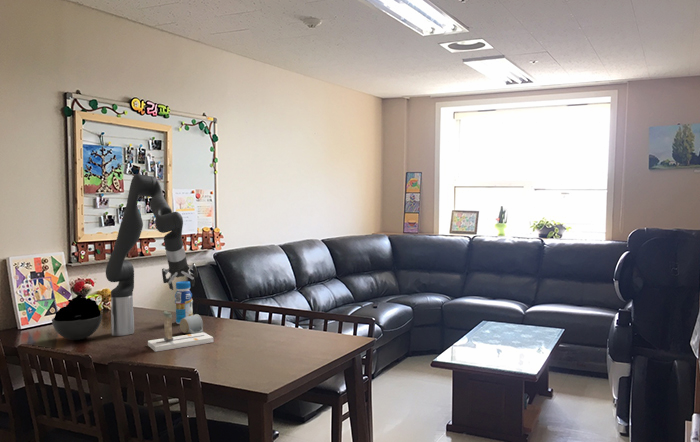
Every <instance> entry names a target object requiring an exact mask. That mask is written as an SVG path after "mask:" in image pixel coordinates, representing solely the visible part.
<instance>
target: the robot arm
mask: <svg viewBox="0 0 700 442" xmlns="http://www.w3.org/2000/svg"><path fill="white" fill-rule="evenodd" d="M139 197H146V198H151V199H150V202H149V208H150V210H151V212H152V215H153V216H154V219H155V220H154V221H155V222H154V223H155V228H156V230H157V231H158V232H159V233H162V234H165V233H166V234H165V235H164V236H163V243H164V247H165V255H166V260H167V265H168V268H167V269H166V268H164V267H163V268H162V269H161V277H162V282H163V284H168V287H169V289H170V290H171V291H174V285H173V281H174V280H175V278H180V277H187V278H189V279H190V284H191V287H195V284H196V281H195V278H196V279H197V278H199V274H198V273H199V272H198V269H197V265H196V263H195V262H194V263H192V264H190V265H189V264H188V260H187V254H186V250H185V248H184V247H185V246H184V242H183V234H182V233H183V227H184V219H183V216H182V215H181V213H180V212H178V211H172V208H171V206H170V205H169V203H168V202H167V200H166V198H165V196H164V192H163V189H162V186H161V184H160V182H159V180H158V178H157V177H155V176H151V175H146V174H140V173H139V174H138V173H137V174H134V175H133V176H132V179H131V181H130V185H129V191H128V195H127V200H126V204H125V205H126V206H125V208H124V213H123V216H122V219H121V222H120V225H119V228H118V232H117V237H116V241H115V243H114V246H113V250H112V252H111V254H110V257H109V260H108V262H107V264H106V267H105V278H106V280H108V281H109V283H118V284H117V285H116V287H115V288H113V289H111V290H110V305H111V307H110V309H111V314H110V327H111V328H110V331H111V336H118V337H119V336H128V335H132V334H134V333H135V319H134V297H133V295H134V293H133V292H134V290H135V289H134V288H135V269H134V265H133V263H132V262H131V261H130V260H127V259H126V260H125V258H126V257H127V255H128V254H129V252H130V251H131V250H132V248H134V246H135V245H136V244H137V243H138V241H139V239H140V238H141V234H142V231H143V227H144V222H143V218H142V216H141V213H140V211H139V208H138V199H139ZM190 269H191V271H193V273H192V272H191V271H190ZM168 273H169V276H168V278H167V275H168Z"/></svg>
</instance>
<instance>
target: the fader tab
mask: <svg viewBox="0 0 700 442" xmlns="http://www.w3.org/2000/svg"><path fill="white" fill-rule="evenodd" d="M172 314H173V313H171V312H170V311H168V310H165V311H163V320H164V321H163V323H164V324H163V325H164V327H163V328H164V336H163V338H164V340H165V341H173V338H172V337H173V325H172V321H173V320H172V317H173V315H172Z"/></svg>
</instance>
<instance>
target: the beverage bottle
mask: <svg viewBox="0 0 700 442" xmlns="http://www.w3.org/2000/svg"><path fill="white" fill-rule="evenodd" d="M175 289H176V290H177V291H176V292H175V294H174V299H175V300H174V304H175V306H174V307H175V323H176V324H178V325H180V321H181V319H183V318H185V317H189V316H192V315H194V313H193V302H194V300H193V298H192V297H193V293H192V291H191V290H190V289H191V281H189V280H186V281H185V280H181V281H176V283H175Z"/></svg>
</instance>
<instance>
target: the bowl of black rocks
mask: <svg viewBox="0 0 700 442" xmlns="http://www.w3.org/2000/svg"><path fill="white" fill-rule="evenodd" d="M67 301H68V304H66V305H65V306H62V307H60V308H59V310H57V311H56V312H55V315H54V317H53V318H52V319H51V323H52V324H51V325H52V326H53V328H54V330H55V331H56V332H57V334H58V335H59V336H61V337H63V338H64V339H67V340H71V341H80V340H84V339H86V338H89V337H90V336H92V335H93V334H94V333H95V332H96V331H97V330H98V329H99V327H100V325H101V322H102V319H103V313H101V311H100V310H101V309H100V306H99V305H98V304H97V301H96V300H94V299H92V298H90V297H83V294H79V295H77V296H74V297H73V298H71V299H67Z"/></svg>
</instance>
